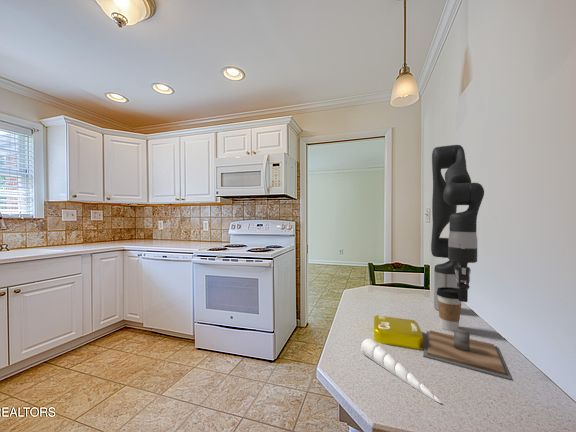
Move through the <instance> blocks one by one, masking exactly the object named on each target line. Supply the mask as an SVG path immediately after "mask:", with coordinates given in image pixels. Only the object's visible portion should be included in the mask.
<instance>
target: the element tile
mask: <svg viewBox="0 0 576 432" xmlns="http://www.w3.org/2000/svg"><path fill="white" fill-rule="evenodd" d="M373 341H374V342H376V343H377V344H383V345H388V346H389V345H390V346H395V347H401V348H406V349H412V350H424V335H423V332H422V331H421V328H420V326H419V324H418V322H417V321H415V320H413V319H406V318H400V317H394V316H393V317H391V316H385V315H375V316H374V317H373Z"/></svg>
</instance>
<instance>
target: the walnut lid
mask: <svg viewBox="0 0 576 432" xmlns="http://www.w3.org/2000/svg"><path fill="white" fill-rule="evenodd" d="M429 331H430V334H429V342H428V350H427V355H430V356H434V357H437V358H441V359H445V360H449V361H452V362H456V363H460V364H464V365H468V366H471V367H475V368H479V369H483V370H487V371H490V372H494V373H498V374H502V375H505V370H504V368H503V366H502V363H501V361H500V358H499V356H498V354H497V351H496V349H495V346H496V345H495V344H494V343H490V342H485V341H481V340H476V339H472V338H470V337H471V336H470V335H471V333H470V332H468V331H467V330H465V329H461V328H458V329H455V330H454V331H453V334H448V333H444V332H439V331H435V330H429Z"/></svg>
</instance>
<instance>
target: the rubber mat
mask: <svg viewBox="0 0 576 432" xmlns="http://www.w3.org/2000/svg"><path fill="white" fill-rule="evenodd" d="M430 331H431V330H429V331H428V330H426V334H425V340H424V341H425V342H424V346H423V354H422V357H423V358H427V359H431V360H433V361H438V362H442V363H446V364H449V365H453V366H457V367H460V368H465V369H467V370H471V371H475V372H479V373H483V374H487V375H491V376H494V377H497V378H502V379H506V380H510V381H512V377H511V375H510V373H509V371H508V368H507V366H506V364H505V361H504V359H503V357H502V355H501V352H500V350H499V348H498V346H497V345H494V346H495V349H496V351H497V354H498V356H499V358H500V361H501V363H502V366H503V368H504V370H505V375H502V374H498V373H494V372H490V371H487V370H483V369H479V368H475V367H471V366H468V365H464V364H460V363H456V362H452V361H449V360H445V359H441V358H437V357H434V356H430V355H427V350H428V342H429V334H430Z"/></svg>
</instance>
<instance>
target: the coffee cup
mask: <svg viewBox="0 0 576 432" xmlns="http://www.w3.org/2000/svg"><path fill="white" fill-rule="evenodd" d="M437 295H438V309H439V310H438V316H439V327H440V328H441V329H443V330H446V331H449V332H454V330H455V329H460V328H459V326H460V317H461V311H462V302H461V301H459V299H458V297H459V294H458V293H457V288H452V287H440V288H438V290H437Z"/></svg>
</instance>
